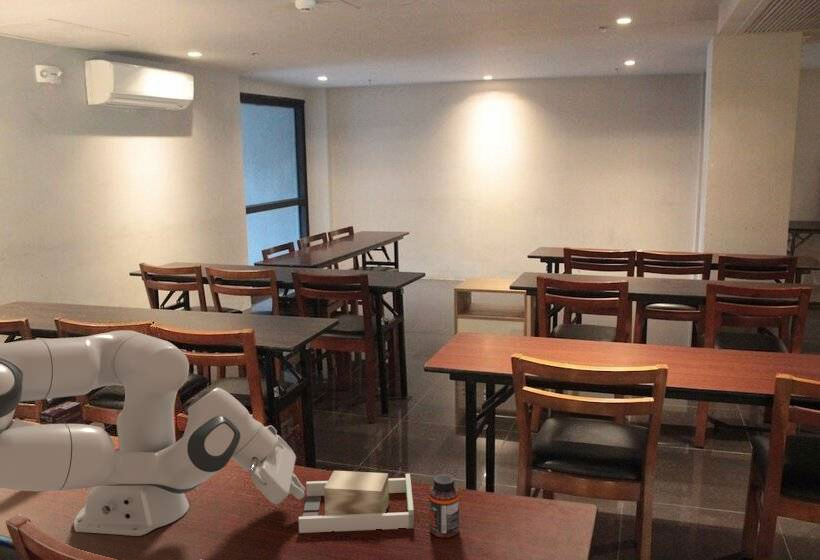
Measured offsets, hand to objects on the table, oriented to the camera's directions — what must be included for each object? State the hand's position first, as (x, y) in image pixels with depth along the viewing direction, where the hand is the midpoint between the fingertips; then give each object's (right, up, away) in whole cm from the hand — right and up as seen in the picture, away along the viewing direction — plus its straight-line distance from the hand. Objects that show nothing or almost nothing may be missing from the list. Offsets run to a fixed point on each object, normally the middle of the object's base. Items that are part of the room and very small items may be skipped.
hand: (302, 494), depth 144 cm
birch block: (+11, -4, +2) cm, 12 cm away
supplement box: (-61, -1, +24) cm, 66 cm away
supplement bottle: (+29, -5, -7) cm, 31 cm away
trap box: (+11, -4, +2) cm, 12 cm away
